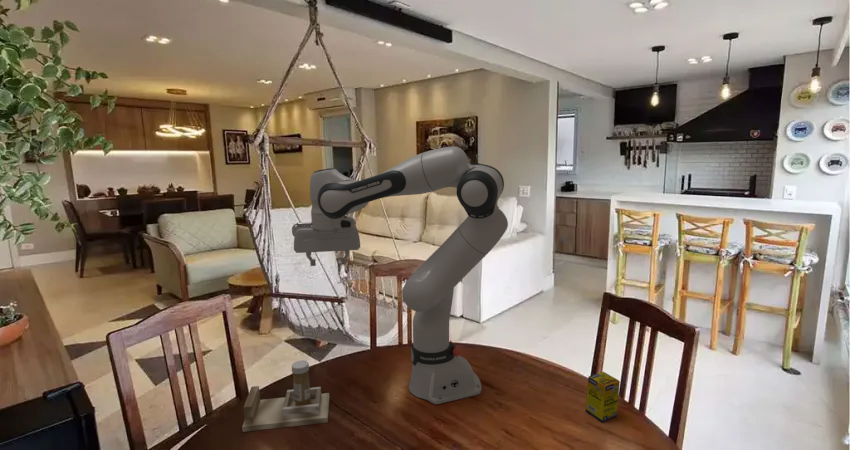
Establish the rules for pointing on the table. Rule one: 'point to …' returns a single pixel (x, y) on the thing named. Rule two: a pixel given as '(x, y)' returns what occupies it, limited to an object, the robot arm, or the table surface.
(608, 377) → the supplement box
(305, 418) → the caddy
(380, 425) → the table surface
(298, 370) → the sprinkles bottle
